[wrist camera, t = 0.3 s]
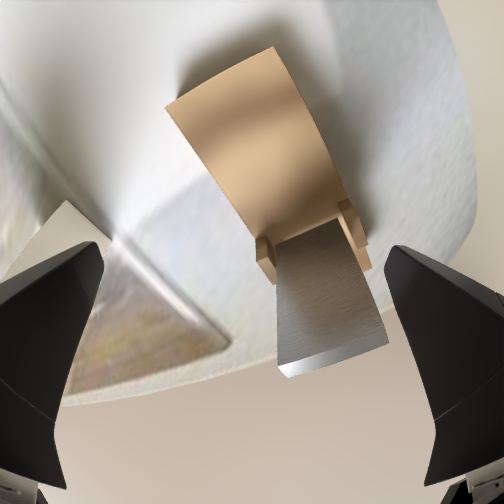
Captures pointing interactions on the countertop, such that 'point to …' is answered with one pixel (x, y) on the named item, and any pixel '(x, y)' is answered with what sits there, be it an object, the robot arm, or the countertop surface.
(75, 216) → the milk
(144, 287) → the countertop surface
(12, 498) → the robot arm
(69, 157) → the countertop surface
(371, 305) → the lever cap
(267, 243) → the body
